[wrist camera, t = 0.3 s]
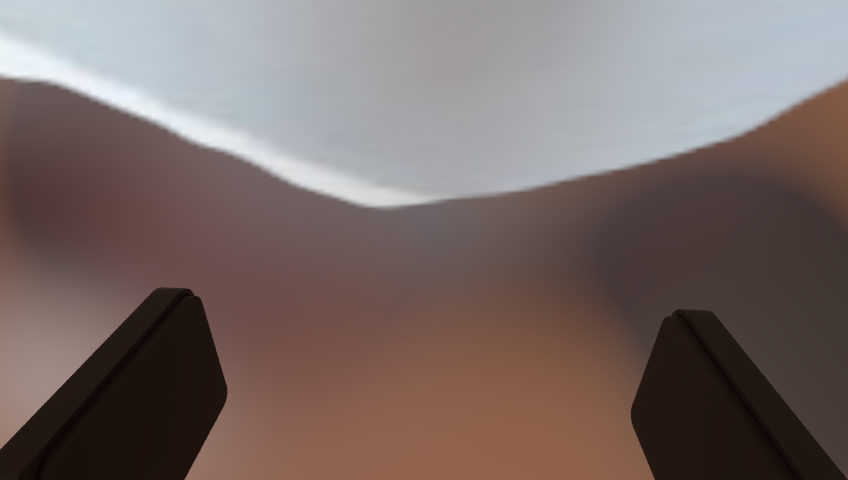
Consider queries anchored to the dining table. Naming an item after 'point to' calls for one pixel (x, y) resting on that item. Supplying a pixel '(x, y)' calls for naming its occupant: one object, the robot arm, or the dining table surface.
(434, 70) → the dining table surface
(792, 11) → the dining table surface
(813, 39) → the dining table surface
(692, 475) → the robot arm
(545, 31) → the dining table surface
